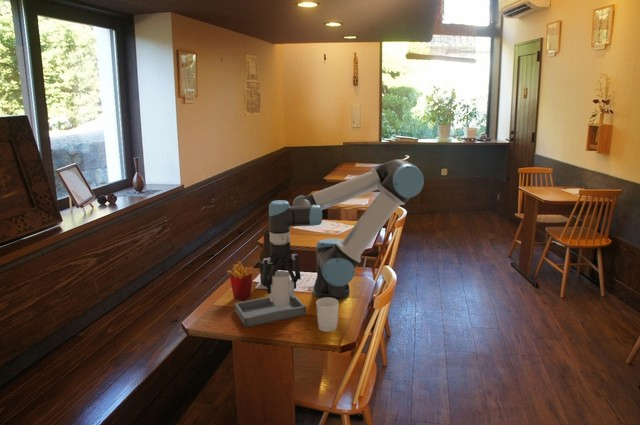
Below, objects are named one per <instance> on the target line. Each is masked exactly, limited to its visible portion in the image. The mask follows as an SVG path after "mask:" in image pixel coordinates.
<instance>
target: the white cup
mask: <svg viewBox="0 0 640 425" xmlns="http://www.w3.org/2000/svg"><path fill="white" fill-rule="evenodd" d="M315 304H316V316H317V317H316V318H317V325H318V330H320V331H321V332H326V333H327V332H328V333H330V332H335V331H336V330H337V329H338V320H339V300H337V299H334V298H329V297H327V298H321V299H319V298H317V300H316V302H315Z"/></svg>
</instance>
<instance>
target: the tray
mask: <svg viewBox="0 0 640 425" xmlns="http://www.w3.org/2000/svg"><path fill="white" fill-rule="evenodd" d="M234 313H236V315H237V316H238V318H239V320H240V321H241V322H242V324H243V326H244V327H245V328H250V327H256V326H261V325H264V324H270V323H273V322H279V321H283V320H289V319H295V318H298V317H303V316H304V317H305V316H306V315H307V306H306V305H305V304H304V303H303V301H301V300H300V299H299V297H298V296H297V295H295V294H294V298H292V297H291V296H290V304H289V305H287V306H284V307H277V306H275V305H274V304H273V302H271V301H270V299H269V296H266V297H262V298H261V297H260V298H256V299H250V300H245V301H239V302H236V303H235V302H234Z"/></svg>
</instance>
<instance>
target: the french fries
mask: <svg viewBox="0 0 640 425" xmlns="http://www.w3.org/2000/svg"><path fill="white" fill-rule="evenodd" d="M232 267H233V271H232V270H227V271H226V273H228V274H231V275H230V276H229V278H230V279H229V280H230V284H231V290H232V295H233V299H234V300H238V301H239V302H244V301H247V300H248V299H250V298H251V297H252V285H253V284H252V282H253V274H252V273H250V270H252V269H253V266H249V267H247V266H246V267H245V268H244V265H243V263H242V262H241V261H237V264H236V263H235V264H233V265H232Z"/></svg>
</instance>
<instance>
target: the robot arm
mask: <svg viewBox="0 0 640 425" xmlns="http://www.w3.org/2000/svg"><path fill="white" fill-rule="evenodd" d="M424 184H425V179H424V174H423V173H422V171H421V169H419V168H418V167H417V165H415V164H413V163H410V162H409V161H407V160H404V159H401V158H400V159H392V160H389V161H386V162H384V163H381V164H379V165H377V166H374V167H372V168H371V170H370V171H368V172H366V173H363V174H360V175H357V176H355V177H352V178H350V179H347V180H344V181H341V182H339V183H336V184H334V185H331V186H329V187H326V188H323V189H321V190H318V191H315V192H313V193H311V194H307V195H298V196H297V197H295V198H294V200H293V202H292V205H290V202H289V201H287V200H284V199H283V200H281V199H278V200H273V201H271V202H270V203H269V204H268V223H269V224H268V225H269V230H270V242H271V243H270V257H269V258H266V259H265V258H263V259H262V261H263V272H262V281H261V280H260V283H261V282H262V284H263V285H267V287H266V293H267V294H268V297H269V299H270V301H271V302H274V298H273V286H272V276H274V275H275V272H276V270H277V269H278V270H279V268H280V267H285V268H286V270H287V272H289V277H290V278H291V279H290V296H291V297H292V298H294V295H295V290H296V289H297V282H298V280H301V279H302V277H301V271H300V265H299V255H298V254H297V253H291V242H290V241H291V229H290V228H291V227H314V226H320V225H321V224H322V223H323V210H326V209H329V208H332V207H334V206H337V205H339V204H342V203H345V202H347V201H350V200H352V199H355V198H357V197H361V196H364V195H365V194H368V193H371V192H373V191H377V190H379V193H378V194H377V195H376V197H375V198H374V200H373V201H372V202H371V203H370V205H369V206H368V208H367V209H365V211H364V213H363V214H362V215H361V217H360V218H359V219H358V220H357V221H356V223H355V224H354V226H352V229H351V230H350V231H349V232H348V234H347V235H346V236H345V238H344V239H340V238H324V239H320V240H318V241H317V243H316V273H317V274H316V278H315V282H314V284H313V286H312V287H313V288H312V290H313V291H312V292H313V296H314V297H316V298H317V299H321V298H327V297H329V298H334V299H337V300H338V301H340V300H344V299H345V298H348V297H349V295H350V293H351V292H350V290H351V289H350V285H349V284H350V283H351V282H352V280H353V279H354V277H355V273H356V271H355V270H356V268H358V266H359V264H360V263H361V262H362V258H361V255H362V254H363V253H364V251H365V250H366V249H367V247H368V246H369V245H370V243H371V242H372V240H374V238H375V237H376V236H377V234H378V233H379V232H380V230H381V229H382V228H383V227H384V225H385V224H386V223H387V221H388V220H389V219H390V218H391V216H392V215H393V213H395V211H396V210H397V209H398V207H399V206H403V205H406V204H407V202H408V201H409V200H410V198H414V197H415V196H417V195H419V194H420V192H421V191H422V189H423V188H424ZM290 260H292V264H293V268H294V271H293V269H292V268H291V264H290V262H289V261H290ZM270 261H272V266H271V270H270V273H269V276H268V278H267V275H268V264H269V262H270ZM263 285H262V286H263Z"/></svg>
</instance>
